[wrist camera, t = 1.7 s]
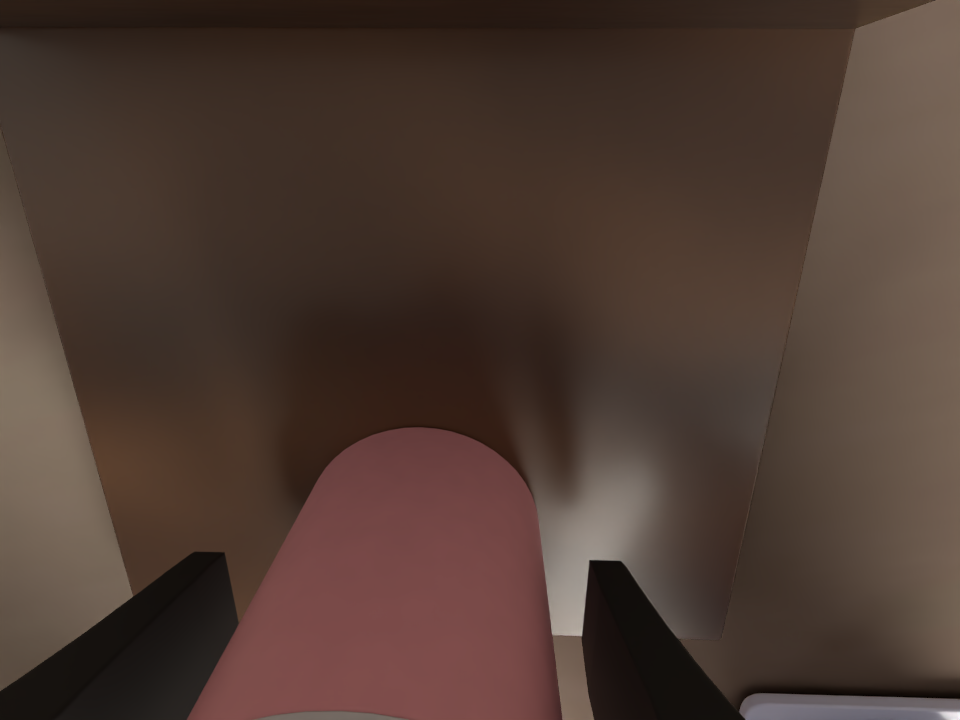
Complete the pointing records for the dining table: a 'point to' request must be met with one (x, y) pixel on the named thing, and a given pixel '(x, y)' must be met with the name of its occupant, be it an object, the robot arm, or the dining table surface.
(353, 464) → the yogurt pot
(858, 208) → the dining table surface
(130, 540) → the serving board
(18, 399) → the dining table surface
